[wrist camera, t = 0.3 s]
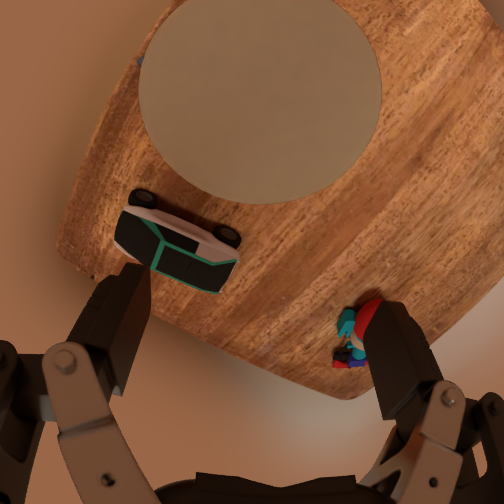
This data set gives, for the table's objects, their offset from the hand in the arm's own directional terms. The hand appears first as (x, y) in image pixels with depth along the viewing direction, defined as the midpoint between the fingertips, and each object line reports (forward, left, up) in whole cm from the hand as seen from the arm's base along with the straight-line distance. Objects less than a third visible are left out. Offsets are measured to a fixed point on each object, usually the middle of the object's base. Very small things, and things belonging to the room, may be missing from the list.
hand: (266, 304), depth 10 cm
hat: (-6, +3, -8) cm, 10 cm away
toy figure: (+26, +1, -20) cm, 33 cm away
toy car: (+3, -11, -20) cm, 23 cm away
